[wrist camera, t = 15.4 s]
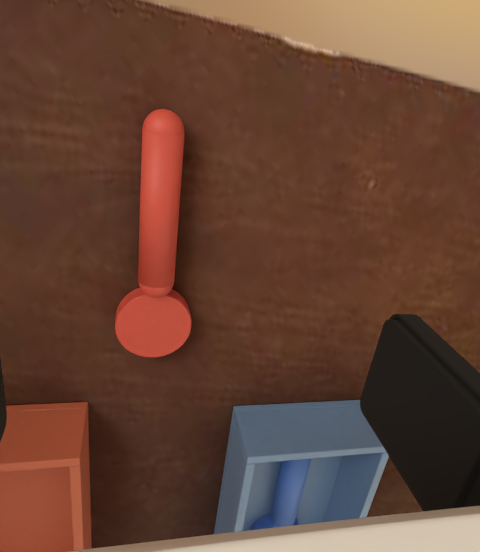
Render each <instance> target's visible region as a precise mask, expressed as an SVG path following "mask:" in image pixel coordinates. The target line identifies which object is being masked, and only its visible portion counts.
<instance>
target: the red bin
mask: <svg viewBox="0 0 480 552" xmlns="http://www.w3.org/2000/svg"><path fill="white" fill-rule="evenodd" d="M6 410H7V421H6V427H5V430H4V433H3V436H2V439H1V442H0V552H69V551H76V550H84V549H92V539H91V502H90V465H89V428H88V402H74V403H52V404H29V405H7V406H6Z"/></svg>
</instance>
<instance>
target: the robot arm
mask: <svg viewBox="0 0 480 552" xmlns="http://www.w3.org/2000/svg"><path fill="white" fill-rule="evenodd" d="M360 408H361V411H362V413H363V415H364V417H365V418H366V420H367V422H368V423H369V425H370V426H371V428H372V430H373V431H374V433H375V434H376V436H377V438H378V439H379V441H380V442H381V444H382V446H383V447H384V449H385V450H386V452H387V454H388V455H389V457H390V458H391V460H392V462H393V463H394V465H395V466H396V468H397V470H398V471H399V473H400V474H401V476H402V477H403V479H404V481H405V482H406V484H407V485H408V487H409V489H410V490H411V492H412V493H413V495H414V497H415V498H416V500H417V501H418V503H419V505H420V506H421V508H422V509H423V512H413V513H404V514H394V515H384V516H375V517H366V518H357V519H347V520H338V521H329V522H320V523H311V524H302V525H293V526H284V527H275V528H266V529H257V530H248V531H239V532H230V533H221V534H213V535H204V536H196V537H187V538H178V539H170V540H161V541H153V542H144V543H136V544H127V545H118V546H110V547H101V548H93V549H84V550H76V551H69V552H480V373H479V372H478V371H477V370H476V369H475V368H473V367H472V366H471V365H470V364H469V363H468V362H467V361H466V360H465V359H464V358H463V357H462V356H461V355H459V354H458V353H457V352H456V351H455V350H454V349H453V348H452V347H451V346H450V345H449V344H448V343H447V342H445V341H444V340H443V339H442V338H441V337H440V336H439V335H438V334H437V333H436V332H435V331H434V330H433V329H432V328H430V327H429V326H428V325H427V324H426V323H425V322H424V321H423V320H422V319H421V318H420V317H418V316H417V315H413V314H395V315H392V316H391V318H390V319H389V320H386V322H385V323H384V325H383V328H382V332H381V335H380V338H379V341H378V344H377V347H376V351H375V354H374V357H373V360H372V363H371V366H370V370H369V373H368V376H367V379H366V382H365V385H364V389H363V392H362V395H361V398H360ZM6 421H7V410H6V402H5V394H4V385H3V377H2V369H1V360H0V442H1V439H2V436H3V433H4V430H5V427H6Z"/></svg>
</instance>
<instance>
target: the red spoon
mask: <svg viewBox="0 0 480 552" xmlns="http://www.w3.org/2000/svg"><path fill="white" fill-rule="evenodd" d="M184 135H185V133H184V125H183V123H182V121H181V119H180V118H179V116H178V115H177V114H175V113H174V112H172V111H170V110H166V109H158V110H155V111H153V112H151V113H150V114H149V115H148V116H147V117H146V119H145V121H144V123H143V129H142V161H141V194H140V226H139V259H138V284H139V287H140V288H137V289H135V290H133V291H131V292H130V293H129V294H127V295H126V296H125V297H124V298H123V299H122V301H121V302H120V304H119V306H118V308H117V311H116V320H115V332H116V336H117V338H118V340H119V342H120V343H121V344H122V345H123V347H125V348H126V349H127V350H128V351H130V352H132V353H133V354H136V355H138V356H142V357H161V356H165V355H168V354H170V353H172V352H174V351H176V350H177V349H178V348H180V347H181V346H182V345H183V344H184V343H185V341H186V340H187V338H188V336H189V334H190V331H191V323H192V322H191V316H190V311H189V307H188V304H187V302H186V301H185V299H184V298H183V297H182V296H181V295H180V294H179V293H178V292H176V291H175V290H173V289H172V287H173V285H174V278H175V264H176V249H177V235H178V221H179V206H180V192H181V178H182V163H183V149H184Z"/></svg>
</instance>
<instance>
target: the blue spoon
mask: <svg viewBox="0 0 480 552" xmlns="http://www.w3.org/2000/svg"><path fill="white" fill-rule="evenodd" d="M311 459H312V458H311ZM311 459H300V460H288V461H283V462H282V466H281V470H280V475H279V479H278V483H277V487H276V492H275V496H274V500H273V505H272V509H271V514H268V515H266V516H263V517H262V518H260V519H259V520H257V521H256V522H255V523H254V524H253V525H252V527H251V528H250V530H257V529H266V528H275V527H284V526H293V525H299V523H298V520H297V518H296V514H297V511H298V507H299V503H300V499H301V496H302V492H303V488H304V485H305V481H306V477H307V474H308V470H309V466H310V462H311Z"/></svg>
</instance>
